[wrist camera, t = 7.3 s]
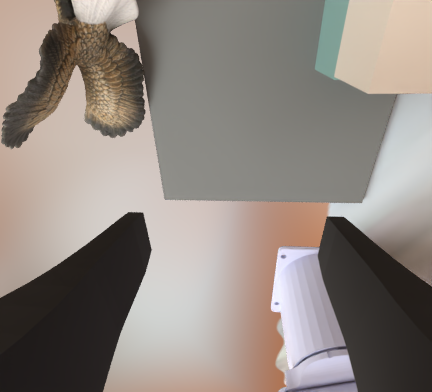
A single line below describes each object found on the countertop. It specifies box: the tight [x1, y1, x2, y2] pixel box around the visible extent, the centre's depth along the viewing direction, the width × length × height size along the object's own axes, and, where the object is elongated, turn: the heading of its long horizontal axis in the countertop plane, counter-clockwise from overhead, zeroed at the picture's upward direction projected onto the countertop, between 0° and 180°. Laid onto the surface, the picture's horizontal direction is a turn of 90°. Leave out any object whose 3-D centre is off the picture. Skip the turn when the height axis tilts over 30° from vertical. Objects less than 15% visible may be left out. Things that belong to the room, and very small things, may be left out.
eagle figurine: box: [2, 0, 145, 149], centre depth 15 cm, size 8×8×10 cm
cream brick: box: [334, 0, 432, 94], centre depth 9 cm, size 4×4×4 cm
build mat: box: [135, 0, 397, 203], centre depth 17 cm, size 18×16×1 cm
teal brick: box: [315, 0, 349, 80], centre depth 13 cm, size 4×4×4 cm
